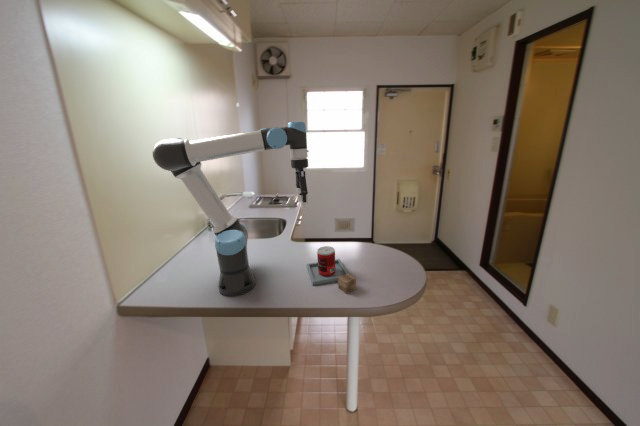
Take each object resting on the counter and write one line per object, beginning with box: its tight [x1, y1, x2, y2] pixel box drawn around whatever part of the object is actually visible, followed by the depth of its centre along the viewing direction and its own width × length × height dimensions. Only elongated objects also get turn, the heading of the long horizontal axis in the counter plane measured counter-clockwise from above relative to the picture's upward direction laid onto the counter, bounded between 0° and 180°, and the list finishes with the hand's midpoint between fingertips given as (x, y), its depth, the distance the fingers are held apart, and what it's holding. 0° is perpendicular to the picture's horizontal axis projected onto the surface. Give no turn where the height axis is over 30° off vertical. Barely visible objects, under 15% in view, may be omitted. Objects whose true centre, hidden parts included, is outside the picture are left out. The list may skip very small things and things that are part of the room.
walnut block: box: [337, 273, 357, 295], centre depth 110 cm, size 5×5×5 cm
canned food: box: [316, 245, 336, 277], centre depth 122 cm, size 8×8×11 cm
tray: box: [305, 258, 349, 287], centre depth 123 cm, size 16×16×2 cm
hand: (302, 205), depth 127 cm, fingers open, 13 cm apart
